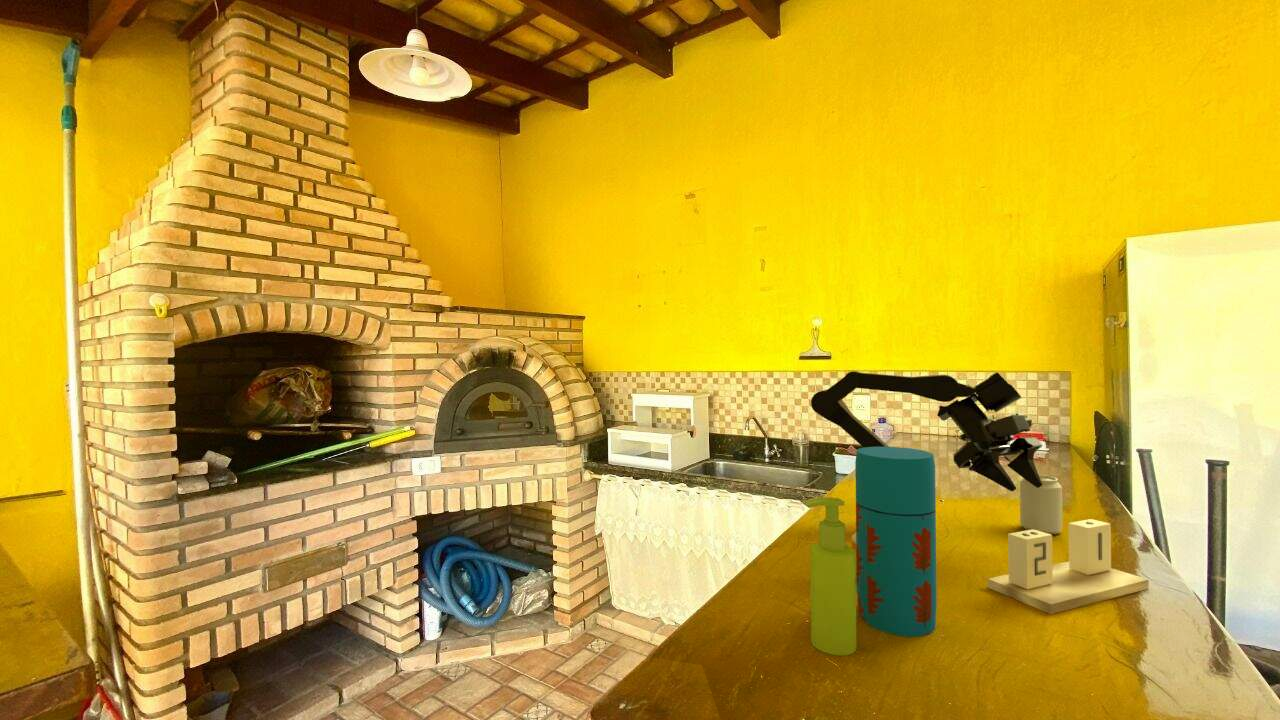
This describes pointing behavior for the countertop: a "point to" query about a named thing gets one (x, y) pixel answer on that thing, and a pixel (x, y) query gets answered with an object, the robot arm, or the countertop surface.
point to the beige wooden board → (1071, 588)
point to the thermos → (896, 539)
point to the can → (1041, 505)
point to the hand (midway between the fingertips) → (1027, 488)
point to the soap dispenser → (832, 583)
